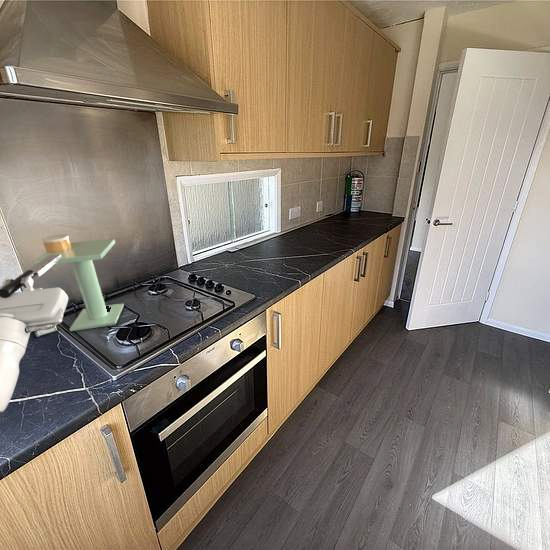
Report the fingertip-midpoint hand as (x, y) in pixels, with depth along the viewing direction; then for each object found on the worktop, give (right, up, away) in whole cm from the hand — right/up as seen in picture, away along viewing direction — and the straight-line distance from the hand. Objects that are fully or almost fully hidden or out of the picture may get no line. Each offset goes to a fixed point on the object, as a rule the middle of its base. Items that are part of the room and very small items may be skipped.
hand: (19, 279), depth 65 cm
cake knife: (-2, +1, +6) cm, 6 cm away
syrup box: (-20, -18, +34) cm, 43 cm away
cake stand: (-7, -14, +41) cm, 44 cm away
